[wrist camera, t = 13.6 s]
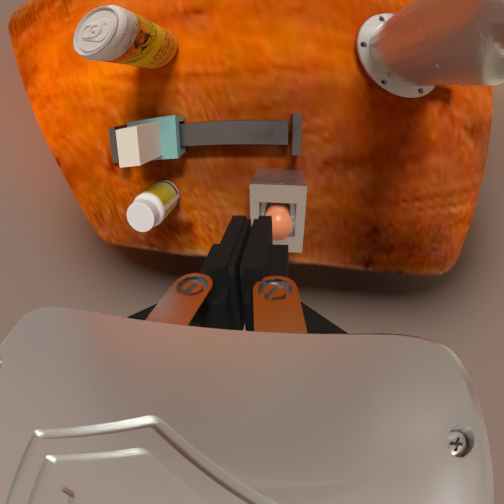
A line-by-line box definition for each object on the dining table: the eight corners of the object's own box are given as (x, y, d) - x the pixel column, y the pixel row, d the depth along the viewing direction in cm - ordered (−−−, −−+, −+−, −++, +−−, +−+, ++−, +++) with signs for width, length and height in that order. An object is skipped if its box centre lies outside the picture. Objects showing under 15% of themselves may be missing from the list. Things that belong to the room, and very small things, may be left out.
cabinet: (301, 169, 34) (307, 186, 27) (298, 225, 38) (301, 254, 31) (256, 167, 35) (249, 184, 28) (256, 223, 39) (250, 251, 32)
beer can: (172, 71, 29) (109, 58, 16) (135, 67, 28) (64, 60, 15) (185, 32, 26) (129, -1, 13) (146, 30, 25) (80, 6, 12)
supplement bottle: (149, 179, 37) (120, 199, 30) (178, 179, 37) (154, 198, 29) (153, 209, 39) (127, 234, 32) (181, 210, 39) (159, 235, 32)
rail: (299, 113, 30) (301, 114, 27) (298, 150, 33) (300, 155, 30) (122, 125, 33) (108, 128, 30) (125, 157, 35) (112, 162, 32)
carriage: (183, 114, 31) (153, 118, 24) (186, 153, 34) (158, 169, 26) (138, 120, 32) (100, 128, 24) (141, 157, 35) (106, 174, 27)
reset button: (291, 201, 31) (292, 214, 27) (290, 225, 32) (290, 240, 29) (265, 200, 31) (262, 213, 27) (264, 224, 32) (262, 239, 29)
